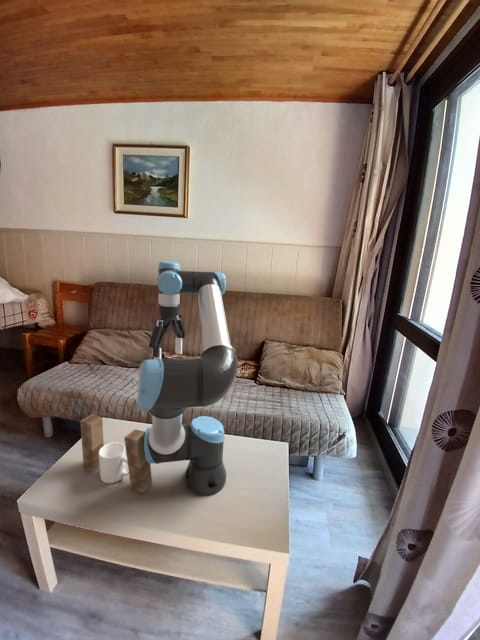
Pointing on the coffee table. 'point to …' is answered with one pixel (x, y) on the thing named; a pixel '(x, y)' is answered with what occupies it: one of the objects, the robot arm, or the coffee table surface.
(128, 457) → the post near
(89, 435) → the post far
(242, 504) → the coffee table surface
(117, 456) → the mug
